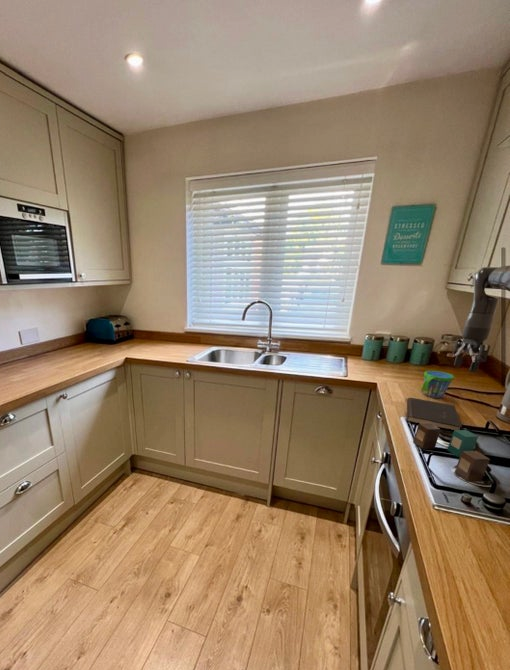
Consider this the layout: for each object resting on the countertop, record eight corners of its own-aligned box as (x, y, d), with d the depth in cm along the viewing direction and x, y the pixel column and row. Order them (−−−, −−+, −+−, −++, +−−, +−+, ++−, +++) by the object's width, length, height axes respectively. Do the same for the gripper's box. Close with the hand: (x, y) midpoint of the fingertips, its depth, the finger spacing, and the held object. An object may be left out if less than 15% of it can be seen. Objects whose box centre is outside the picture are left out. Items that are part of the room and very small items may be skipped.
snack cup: (430, 401, 140) (437, 379, 136) (409, 393, 149) (414, 371, 145) (456, 398, 145) (464, 376, 141) (434, 390, 154) (440, 369, 150)
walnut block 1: (424, 446, 103) (431, 423, 100) (433, 452, 100) (440, 429, 97) (411, 446, 103) (418, 423, 100) (420, 453, 99) (427, 429, 96)
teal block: (457, 453, 100) (466, 429, 97) (469, 460, 96) (478, 436, 93) (445, 454, 99) (453, 430, 96) (456, 461, 95) (465, 436, 92)
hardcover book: (452, 410, 131) (454, 405, 131) (460, 432, 113) (462, 426, 112) (406, 402, 139) (408, 397, 138) (406, 421, 120) (407, 415, 120)
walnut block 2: (466, 476, 88) (476, 450, 85) (479, 485, 84) (490, 459, 82) (452, 477, 88) (461, 451, 85) (464, 486, 84) (474, 459, 81)
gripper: (504, 329, 114) (488, 374, 119) (474, 323, 127) (461, 364, 133) (482, 328, 114) (467, 373, 120) (454, 323, 127) (442, 363, 133)
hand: (464, 368), depth 126 cm, fingers open, 8 cm apart
